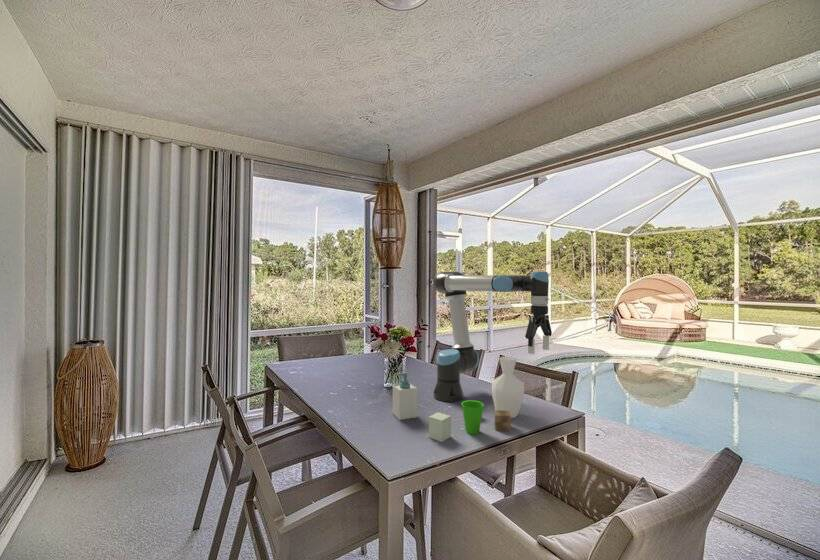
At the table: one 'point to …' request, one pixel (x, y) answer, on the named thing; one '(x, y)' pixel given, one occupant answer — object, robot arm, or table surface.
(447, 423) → the sage block
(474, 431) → the cup
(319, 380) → the table surface
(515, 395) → the vase
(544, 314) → the robot arm
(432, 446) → the table surface
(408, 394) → the soap bottle
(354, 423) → the table surface
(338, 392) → the table surface
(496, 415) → the walnut block
